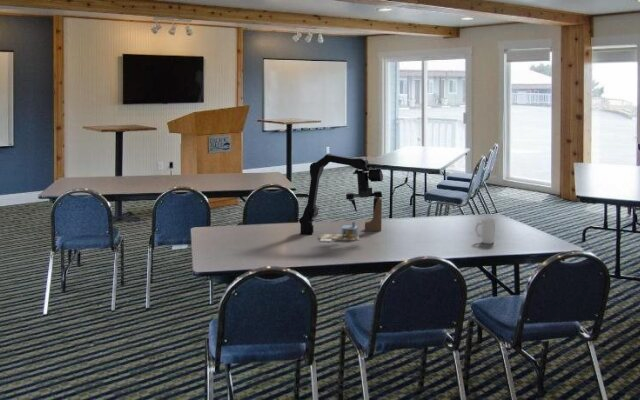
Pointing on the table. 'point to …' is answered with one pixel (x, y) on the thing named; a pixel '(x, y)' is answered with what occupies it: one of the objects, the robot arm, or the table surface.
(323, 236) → the board
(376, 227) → the wooden block
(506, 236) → the table surface
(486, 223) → the mug
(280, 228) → the table surface
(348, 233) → the block
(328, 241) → the mat
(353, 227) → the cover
